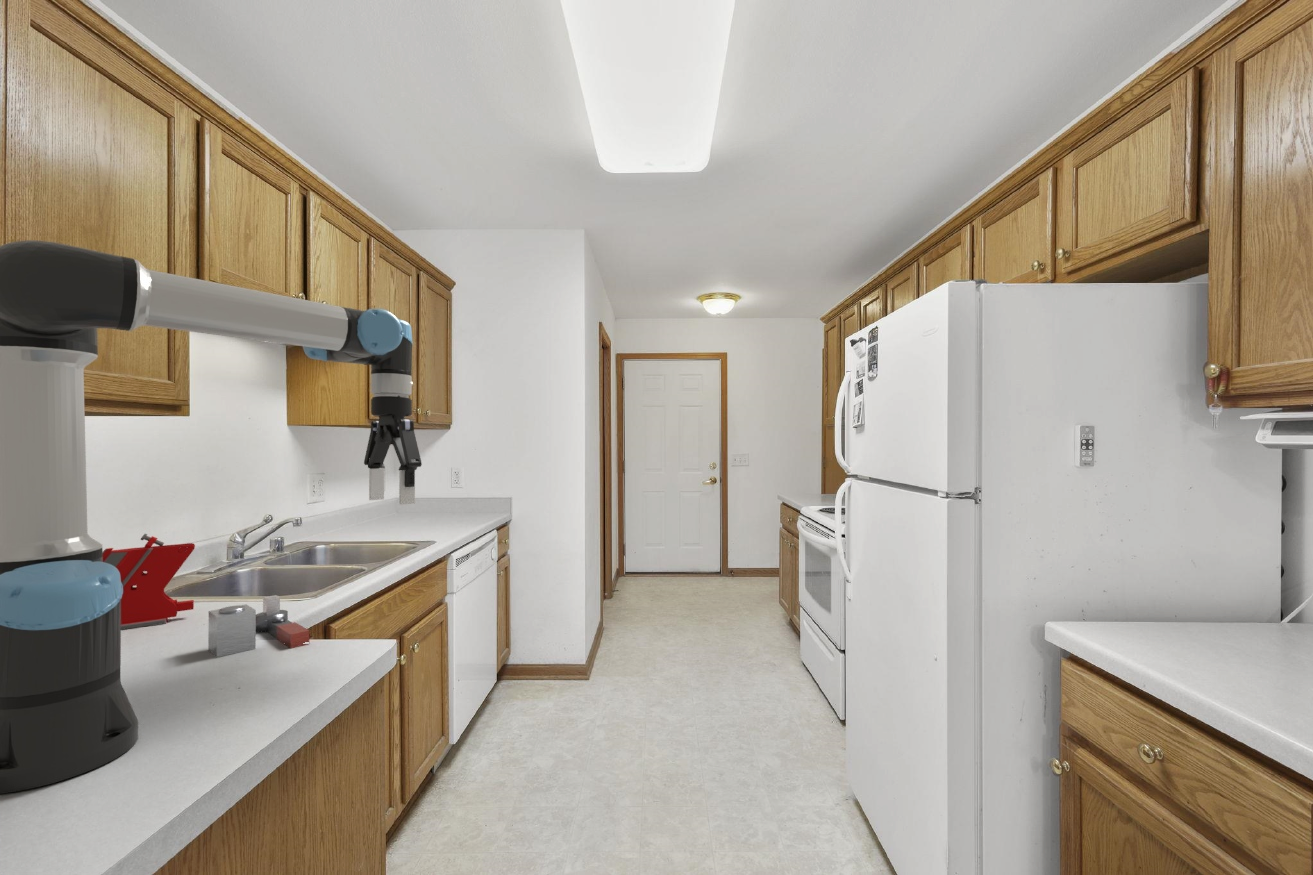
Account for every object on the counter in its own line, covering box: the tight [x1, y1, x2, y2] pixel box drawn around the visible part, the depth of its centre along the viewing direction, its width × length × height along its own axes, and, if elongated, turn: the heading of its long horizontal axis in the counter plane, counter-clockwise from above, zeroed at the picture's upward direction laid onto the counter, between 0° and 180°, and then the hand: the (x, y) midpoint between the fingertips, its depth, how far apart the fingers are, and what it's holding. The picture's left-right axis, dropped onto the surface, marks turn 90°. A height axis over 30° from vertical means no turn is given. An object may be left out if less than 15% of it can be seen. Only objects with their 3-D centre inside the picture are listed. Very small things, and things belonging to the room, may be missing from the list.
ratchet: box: [256, 594, 310, 649], centre depth 118 cm, size 6×20×6 cm, turn 49°
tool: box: [102, 533, 196, 631], centre depth 124 cm, size 24×5×25 cm, turn 131°
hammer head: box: [207, 604, 257, 658], centre depth 110 cm, size 6×6×8 cm
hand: (391, 501), depth 118 cm, fingers open, 13 cm apart
